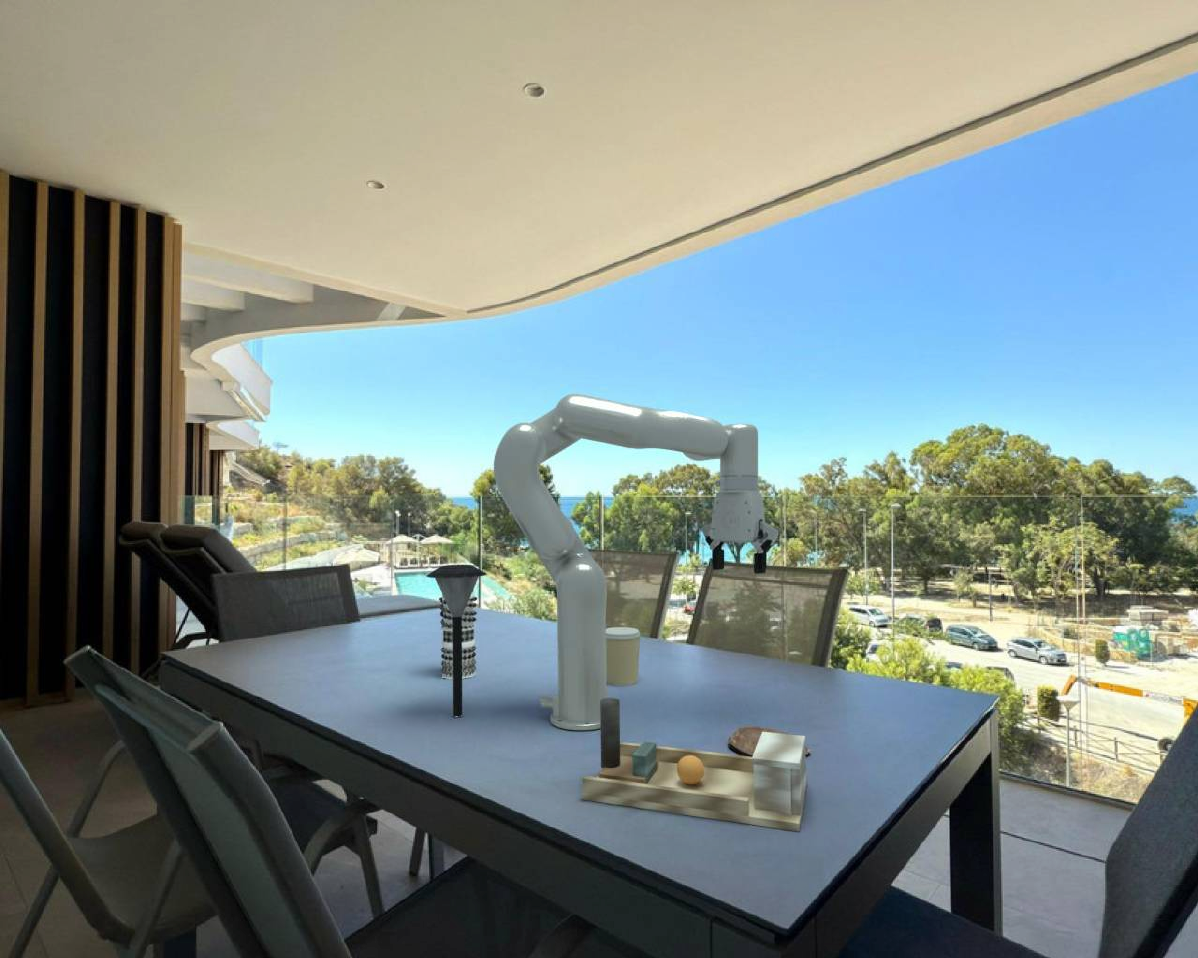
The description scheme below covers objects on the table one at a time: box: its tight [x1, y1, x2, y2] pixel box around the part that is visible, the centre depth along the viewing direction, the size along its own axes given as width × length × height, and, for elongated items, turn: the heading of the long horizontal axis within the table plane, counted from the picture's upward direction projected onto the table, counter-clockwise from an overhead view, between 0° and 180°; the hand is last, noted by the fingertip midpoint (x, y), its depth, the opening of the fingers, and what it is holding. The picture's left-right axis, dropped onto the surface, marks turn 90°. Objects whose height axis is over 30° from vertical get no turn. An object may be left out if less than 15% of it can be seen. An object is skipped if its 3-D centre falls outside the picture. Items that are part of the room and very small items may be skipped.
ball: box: [677, 755, 704, 785], centre depth 102 cm, size 4×4×4 cm
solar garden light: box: [425, 564, 488, 716], centre depth 139 cm, size 12×12×30 cm
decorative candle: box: [438, 589, 478, 679], centre depth 171 cm, size 9×9×25 cm
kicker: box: [598, 697, 659, 784], centre depth 106 cm, size 8×8×11 cm
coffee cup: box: [606, 626, 641, 687], centre depth 164 cm, size 9×9×12 cm
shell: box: [727, 724, 811, 758], centre depth 119 cm, size 12×13×4 cm
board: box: [581, 732, 808, 832], centre depth 102 cm, size 30×16×8 cm, turn 70°
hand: (738, 571), depth 139 cm, fingers open, 9 cm apart
